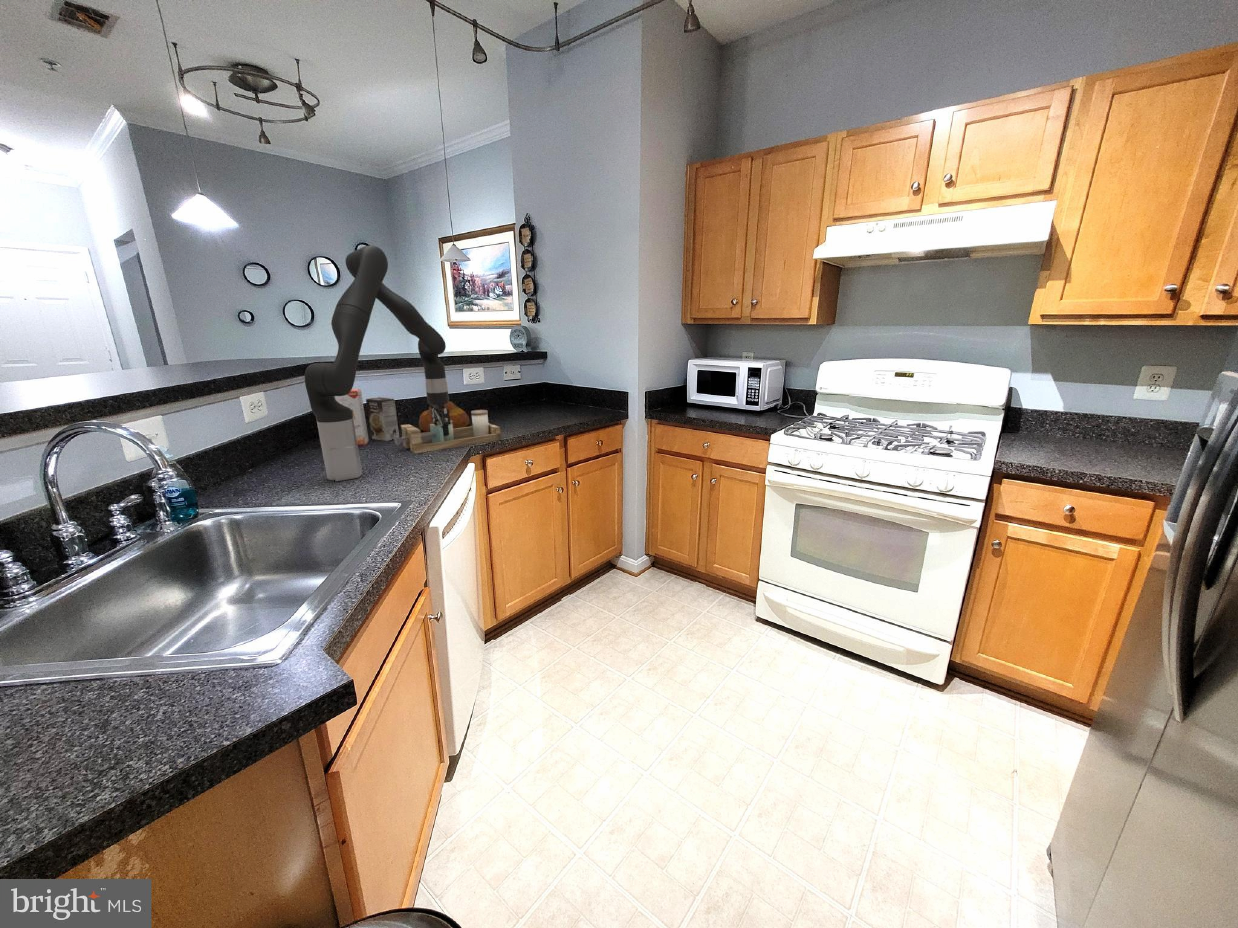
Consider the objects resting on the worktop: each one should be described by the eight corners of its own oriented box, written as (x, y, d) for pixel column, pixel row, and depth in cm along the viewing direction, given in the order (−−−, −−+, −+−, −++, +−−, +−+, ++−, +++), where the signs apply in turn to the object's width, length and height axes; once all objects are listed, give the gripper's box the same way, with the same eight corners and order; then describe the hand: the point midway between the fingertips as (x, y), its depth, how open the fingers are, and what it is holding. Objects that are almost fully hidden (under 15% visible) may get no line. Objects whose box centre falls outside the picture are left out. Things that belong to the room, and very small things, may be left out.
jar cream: (492, 438, 190) (490, 411, 187) (477, 441, 187) (474, 413, 184) (486, 436, 195) (483, 409, 192) (471, 438, 191) (468, 411, 188)
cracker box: (324, 448, 179) (314, 391, 173) (329, 444, 185) (319, 389, 179) (366, 445, 182) (357, 390, 177) (369, 441, 188) (360, 388, 182)
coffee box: (371, 439, 193) (364, 399, 188) (385, 435, 198) (379, 396, 194) (386, 441, 188) (380, 400, 184) (400, 438, 194) (394, 398, 189)
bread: (406, 437, 196) (402, 407, 193) (433, 421, 228) (430, 395, 224) (458, 436, 197) (455, 406, 194) (478, 421, 228) (475, 395, 225)
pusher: (444, 447, 177) (442, 428, 175) (401, 453, 168) (398, 434, 166) (434, 441, 185) (432, 423, 183) (393, 447, 176) (390, 429, 175)
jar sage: (457, 444, 182) (454, 421, 180) (442, 446, 179) (439, 423, 176) (451, 441, 186) (449, 419, 184) (437, 443, 183) (434, 421, 181)
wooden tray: (501, 439, 188) (499, 419, 186) (414, 453, 169) (411, 431, 167) (486, 433, 199) (484, 414, 197) (403, 446, 180) (400, 425, 178)
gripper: (454, 391, 173) (458, 435, 177) (441, 388, 184) (445, 429, 188) (432, 393, 169) (438, 438, 173) (420, 389, 180) (426, 432, 184)
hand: (442, 433), depth 181 cm, fingers open, 8 cm apart
